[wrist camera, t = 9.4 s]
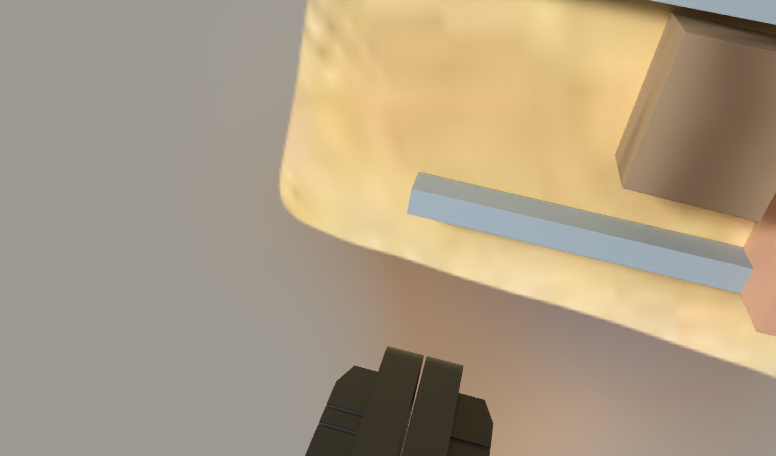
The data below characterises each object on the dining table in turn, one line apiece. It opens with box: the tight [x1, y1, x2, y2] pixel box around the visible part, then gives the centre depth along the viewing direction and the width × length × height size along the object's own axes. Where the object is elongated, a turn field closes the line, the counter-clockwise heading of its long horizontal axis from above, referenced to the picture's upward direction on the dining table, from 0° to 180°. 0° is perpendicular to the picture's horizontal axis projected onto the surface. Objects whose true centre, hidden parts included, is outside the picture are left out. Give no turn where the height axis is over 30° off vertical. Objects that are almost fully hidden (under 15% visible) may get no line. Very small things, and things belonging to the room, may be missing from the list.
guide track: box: [407, 0, 776, 336], centre depth 29 cm, size 19×14×5 cm
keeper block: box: [615, 12, 776, 222], centre depth 29 cm, size 6×7×4 cm
